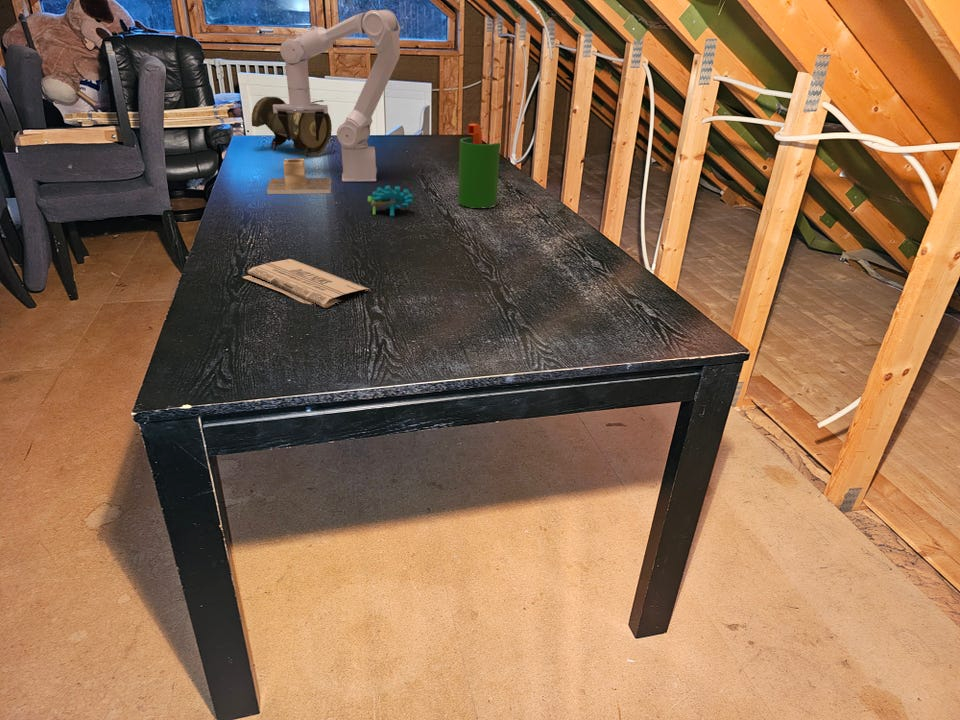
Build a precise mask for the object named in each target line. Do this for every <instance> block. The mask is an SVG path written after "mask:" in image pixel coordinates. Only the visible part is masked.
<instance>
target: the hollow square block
mask: <svg viewBox="0 0 960 720" xmlns="http://www.w3.org/2000/svg"><path fill="white" fill-rule="evenodd" d="M282 164H283V173H284V178H285V184H286V186H305V185H306V178H307V175H306V165H305V159H304V158H284V160H283V163H282Z"/></svg>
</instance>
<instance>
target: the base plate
mask: <svg viewBox="0 0 960 720" xmlns="http://www.w3.org/2000/svg"><path fill="white" fill-rule="evenodd" d="M331 190H332V178H331V177H306V185H305V186H286V184H285V177H284V178H283V177H281V178H280V177H279V178H276V177H275V178H271V177H270V181H269V183H268V187H267V189H266V194H267V195H285V194H286V195H287V194H288V195H289V194H290V195H291V194H292V195H293V194H297V195H300V194H304V195H307V194H309V195H310V194H331V192H332V191H331Z"/></svg>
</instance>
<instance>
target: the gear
mask: <svg viewBox="0 0 960 720" xmlns="http://www.w3.org/2000/svg"><path fill="white" fill-rule="evenodd" d="M413 199H414V194H413V193H410V190H409V189H408V188H404V189H403V191H402V192H401V186H398V185H395V186H394V189H392V188H391V185H390V184H389V185H388V184H387V185H385V186H384V188H382V187H380V186H378V187H377V188H376V190H375V191H372V195H367V203H369V204H370V205H371V207H372V215H373V216H376V215H377V214H376V212H377V208H385V209H389V217H390V218H395V210H399V209H401V207H402V208H404V209H406V208H408V206H409V205H413Z"/></svg>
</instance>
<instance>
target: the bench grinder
mask: <svg viewBox="0 0 960 720" xmlns="http://www.w3.org/2000/svg"><path fill="white" fill-rule="evenodd" d="M320 102H321V103H324V100H316V101H315V100H314V101H311V104H315V105H321V104H319V103H320ZM273 104H287V103H286V101H285V100H283V99H282V98H280V97H279V96H278V97H277V96H264V97H262V98H260V99H259V100H257V102H256V103H255V105H254V106H253V108H252V113H251V126H252V127H254V128H255V127H256V128H258V127H261V126H266V127H267V128H268V129H269V130H270V131H271V132H272V133H273V134H274V138H272V141H271V143H270V150H272V151H276V149H277V147H279V146H281V145H283V144H284V143H286V142H287V141H288V138H287V135H286V132H285V129H284V127H283V125H282V123H281V121H280V120H279V118H278V113H273ZM299 111H308V110H299ZM288 119H289V129H290V134H291V141H292V142H293V145H292V147H293V148H295V149H299V150H304V151H305V152H304V157H306V158H309V157H310V154H311V153H313V154H320V153H322V151H324V150H325V148H327V146H328V145H329V143H330V140H331V136H332V130H333V129H332V119H331V116H330V114H329V112H328V113H324V117H323V120H322V123H321V127H320V131H319V141H316V125H315V113H288Z"/></svg>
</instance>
